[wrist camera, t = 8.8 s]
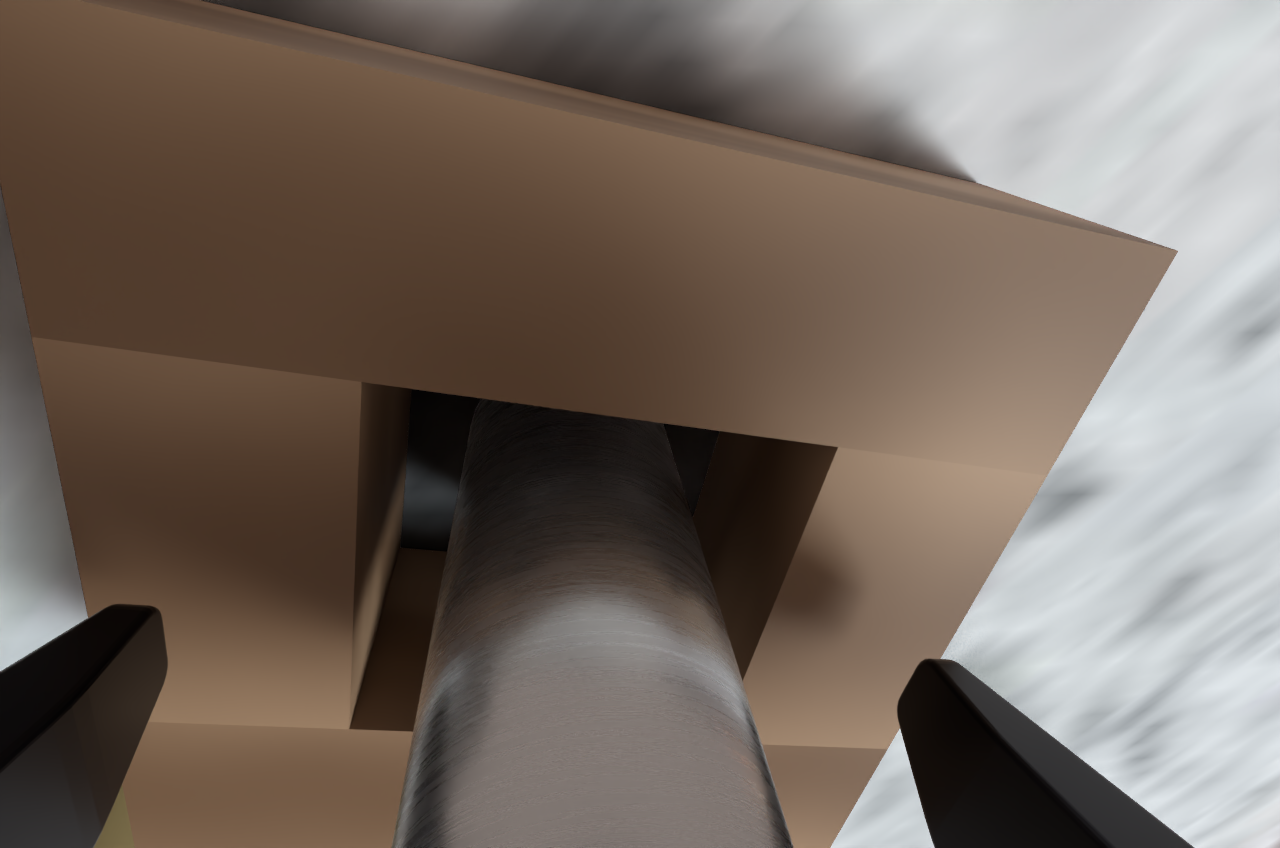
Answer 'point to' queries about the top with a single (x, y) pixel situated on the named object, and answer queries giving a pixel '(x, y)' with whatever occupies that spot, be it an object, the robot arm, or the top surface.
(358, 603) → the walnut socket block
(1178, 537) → the top surface
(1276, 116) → the top surface
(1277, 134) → the top surface
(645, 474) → the grey metal peg
